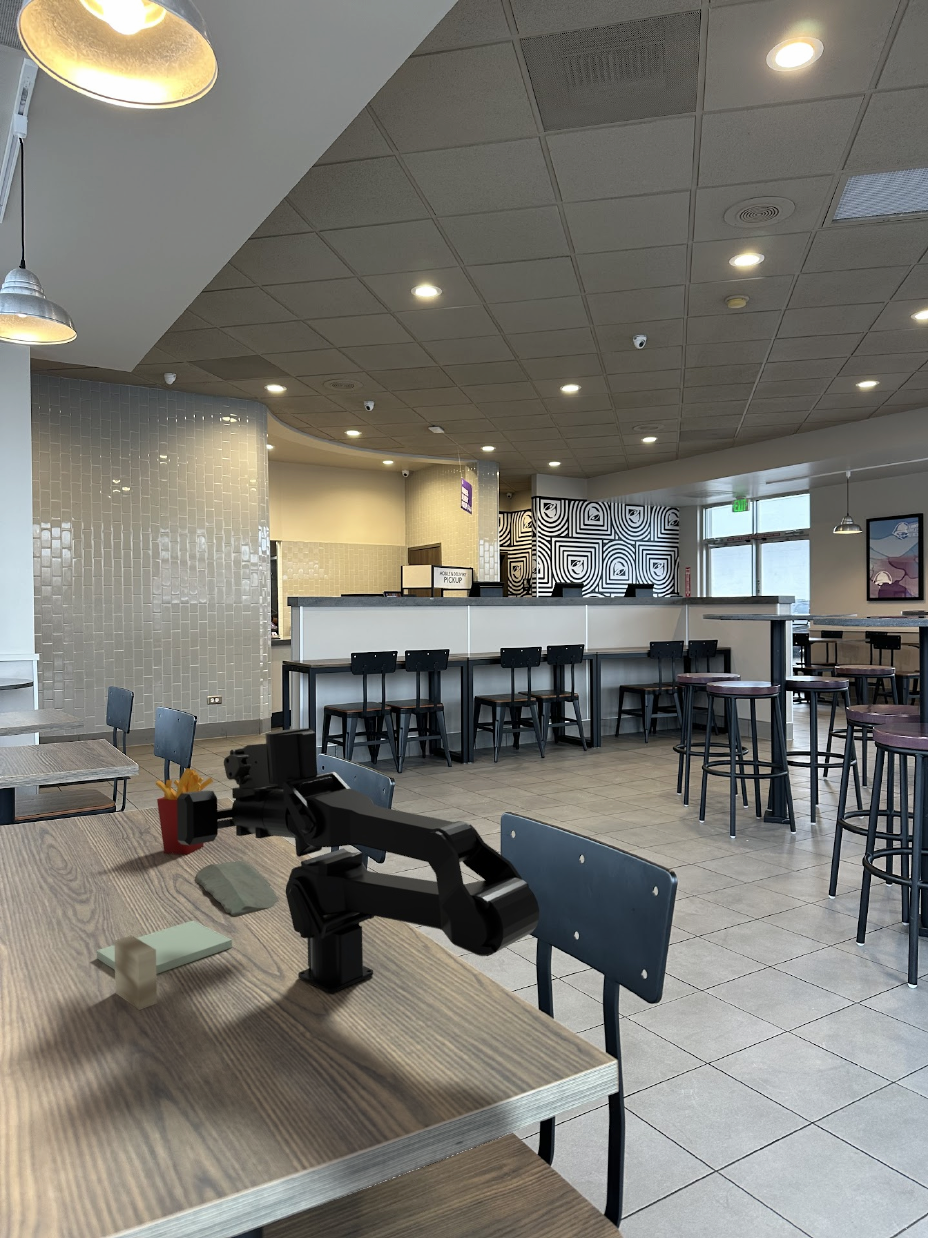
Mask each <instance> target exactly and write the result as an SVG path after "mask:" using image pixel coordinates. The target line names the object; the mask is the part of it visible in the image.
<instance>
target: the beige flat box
mask: <svg viewBox="0 0 928 1238" xmlns="http://www.w3.org/2000/svg"><path fill="white" fill-rule="evenodd" d="M137 938H138V937H135V936H133V935H129V936H124V937H122V938H119V939H116V940H113V941H114V943H113V945H114V949H115V970H114V981H115V983H114V984H115V986H114V988H115V993H114V994H116V995H118V996H119V997H120V998H122V999H123V1000H125V1001H126V1002H127V1003H129V1004H131V1006H133V1007H134V1008H136V1009H137V1010H139V1011H141V1010H142V1009H146V1008H148V1007H152V1006H154V1005H156V1004H158V994H157V993H158V992H157V991H158V988H157V987H158V985H157V984H158V983H157V982H158V981H157V980H158V979H157V974H156V949H154V948H152V947H151V946H149V945H147V944H146V943H144V942H142V941H140V940H139V939H137Z"/></svg>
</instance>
